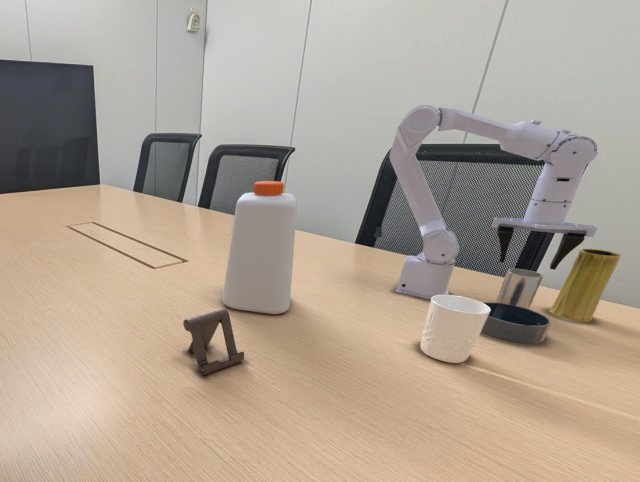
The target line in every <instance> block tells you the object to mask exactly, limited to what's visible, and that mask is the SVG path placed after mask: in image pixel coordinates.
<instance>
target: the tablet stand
mask: <svg viewBox="0 0 640 482" xmlns="http://www.w3.org/2000/svg"><path fill="white" fill-rule="evenodd" d="M182 323H183V324H182V325H183V328H184V330H185V331H186V332H189V333H190V335H191V338H192V340H191V342H190V344H189V346H188V349H187V353H192V352H194V353H195V359H196V363H197V368H198V371H199V373H200V375H202V376H205V375H208V374H211V373H213V372H216V371H218V370H221V369H224V368H226V367H230V366H232V365H234V364H238V363H241V362H243V361H245V351H239V352H238V350H237V346H236V341H235V336H234V332H233V327H232V322H231V316H230V313H229V311H228V310H227V309H226V308H221V309H217V310H214V311H210V312H207V313H203V314H200V315H196V316H192V317H189V318H186V319H184V320H183V322H182ZM219 325H221V329H222V334H223V337H224V342H225V347H226V352H227V357H226V358H223V359H220V360H219V359H217V360H214V361H212V362H209V361H208V357H207V352H206V348H207V347H209V345H210V343H211V341H212V339H213V337H214V335H215V333H216V331H217V329H218V327H219Z"/></svg>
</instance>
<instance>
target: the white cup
mask: <svg viewBox="0 0 640 482" xmlns="http://www.w3.org/2000/svg"><path fill="white" fill-rule="evenodd" d="M490 311H491V309H490V307H489V306H487V305H486V304H484V303H483V302H481V301H479V300H476V299H474V298H470V297H467V296H466V297H465V296H462V295H455V294H448V295H435V296H433V297H432V298H431V299H430V302H429V305H428V310H427V314H426V317H425V321H424V326H423V331H422V337H421V341H420V344H419V345H420V349H421V352H422V353H424V354H425V355H426V356H429V357H430V358H432V359H435V360H438V361H442V362H445V363H452V364H461V363H463V362H465V361H466V360H468V359H469V357H470V355H471V352H472V350H473V348H474V347H475V346H476V343H477V340H478V339H479V337H480V335H481V334H482V333H481V331H482V329H483V326H484V324H485V322H486V320H487V318H488V316H489V313H490Z"/></svg>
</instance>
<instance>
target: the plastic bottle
mask: <svg viewBox="0 0 640 482" xmlns="http://www.w3.org/2000/svg"><path fill="white" fill-rule="evenodd" d="M284 188H285V184H284V182H282V181H277V180H261V181H260V180H259V181H256V182H254V184H253V192H245V193H243V194H242V195H241V196H240V197H239V198H238V200H237V202H236V205H235V211H234V217H233V224H232V229H231V230H232V231H231V236H230V243H229V251H228V256H227V263H226V269H225V276H224V282H223V289H222V295H221V299H222V302H223V304H224V305H225V306H227V307H228V308H231V309H233V310H239V311H245V312H246V311H247V312H253V313H260V314H268V315H279V314H282V313H286V312H287V311H288V310H289V309H290V306H291V295H292V293H291V292H292V279H293V278H292V277H293V266H294V265H293V264H294V251H295V239H296V238H295V237H296V223H297V210H298V201H297V197H296V196H295V195H294V194H292V193H285V192H284Z"/></svg>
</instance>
